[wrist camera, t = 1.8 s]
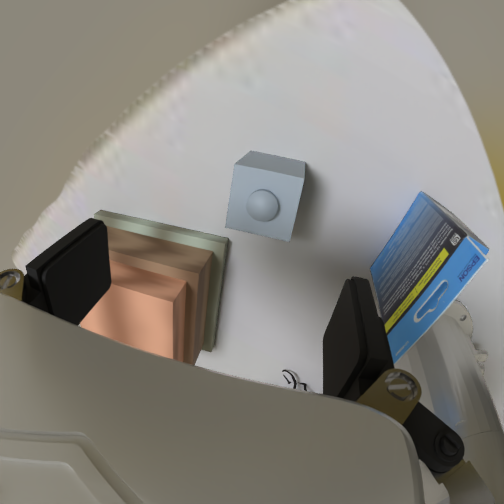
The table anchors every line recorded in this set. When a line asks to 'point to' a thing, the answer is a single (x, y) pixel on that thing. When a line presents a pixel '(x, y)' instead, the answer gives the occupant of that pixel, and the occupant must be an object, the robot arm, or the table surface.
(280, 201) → the slate brick
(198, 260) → the stepped plate stack
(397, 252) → the label tape box
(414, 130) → the table surface
